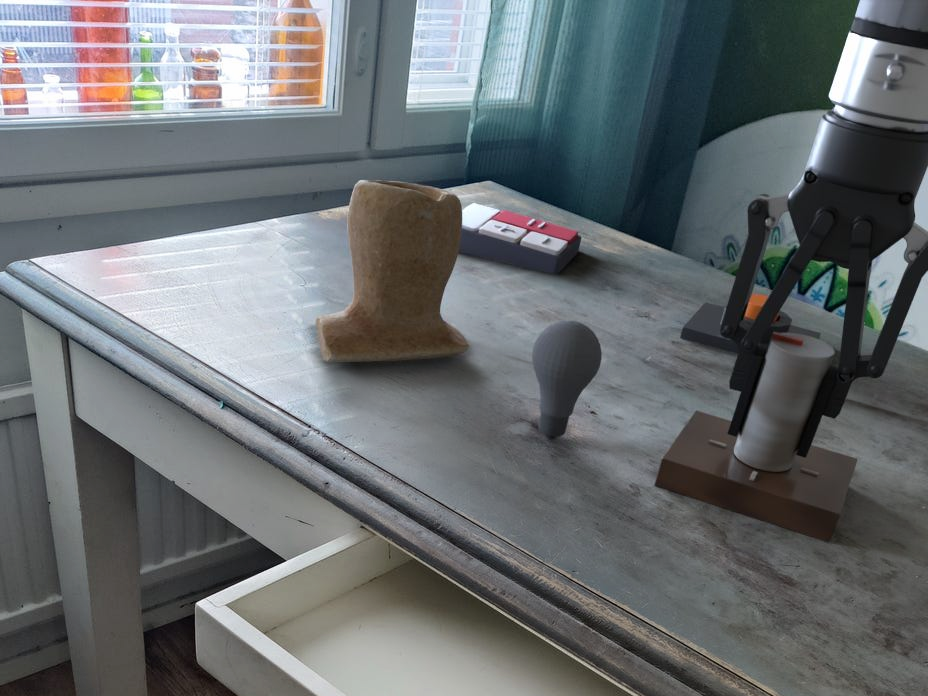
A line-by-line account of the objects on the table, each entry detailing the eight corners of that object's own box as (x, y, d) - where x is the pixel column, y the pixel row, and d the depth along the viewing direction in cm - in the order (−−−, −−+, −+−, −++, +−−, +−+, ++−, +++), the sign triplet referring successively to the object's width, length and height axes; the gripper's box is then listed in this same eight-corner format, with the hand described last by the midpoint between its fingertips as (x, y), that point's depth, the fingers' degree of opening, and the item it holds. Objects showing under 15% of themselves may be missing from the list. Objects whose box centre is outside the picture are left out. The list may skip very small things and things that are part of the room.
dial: (797, 455, 81) (840, 340, 75) (787, 478, 77) (831, 359, 71) (740, 438, 82) (778, 323, 76) (727, 460, 79) (766, 341, 73)
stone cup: (431, 322, 101) (448, 165, 92) (480, 370, 93) (504, 203, 84) (288, 328, 96) (291, 162, 86) (327, 380, 87) (335, 202, 78)
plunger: (779, 316, 105) (784, 300, 104) (772, 327, 102) (778, 310, 101) (742, 307, 106) (747, 290, 105) (734, 317, 103) (739, 300, 102)
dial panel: (846, 484, 83) (858, 456, 82) (828, 542, 75) (841, 512, 74) (688, 435, 87) (696, 408, 86) (654, 485, 79) (662, 456, 78)
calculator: (562, 251, 114) (441, 216, 116) (553, 288, 116) (435, 253, 119) (584, 229, 122) (471, 197, 124) (575, 264, 125) (465, 232, 127)
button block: (814, 352, 108) (827, 316, 106) (799, 381, 101) (812, 344, 98) (699, 321, 112) (709, 285, 109) (677, 347, 104) (687, 310, 102)
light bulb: (535, 416, 87) (557, 304, 80) (592, 437, 85) (619, 323, 79) (506, 437, 83) (526, 321, 77) (565, 460, 81) (591, 342, 75)
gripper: (737, 96, 64) (649, 423, 78) (1027, 156, 59) (877, 493, 74) (760, 84, 70) (674, 392, 84) (1027, 138, 65) (887, 455, 79)
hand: (769, 439), depth 79 cm, fingers closed on dial, 5 cm apart
